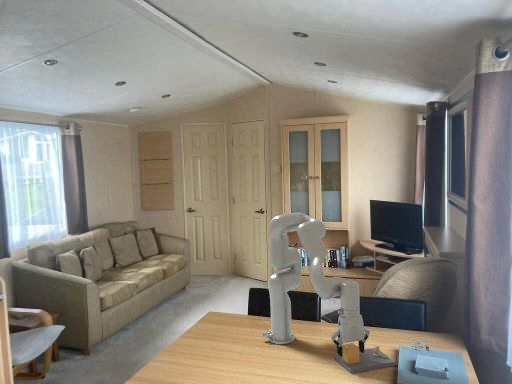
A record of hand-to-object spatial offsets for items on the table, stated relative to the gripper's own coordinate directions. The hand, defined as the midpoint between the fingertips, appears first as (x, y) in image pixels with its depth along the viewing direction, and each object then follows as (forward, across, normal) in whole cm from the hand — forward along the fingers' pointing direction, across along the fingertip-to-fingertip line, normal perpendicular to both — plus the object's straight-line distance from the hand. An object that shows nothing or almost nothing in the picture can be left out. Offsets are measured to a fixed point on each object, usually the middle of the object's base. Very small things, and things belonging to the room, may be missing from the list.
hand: (350, 353), depth 165 cm
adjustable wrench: (+5, +33, -4) cm, 34 cm away
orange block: (+3, 0, 0) cm, 3 cm away
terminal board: (+4, +6, 0) cm, 7 cm away
